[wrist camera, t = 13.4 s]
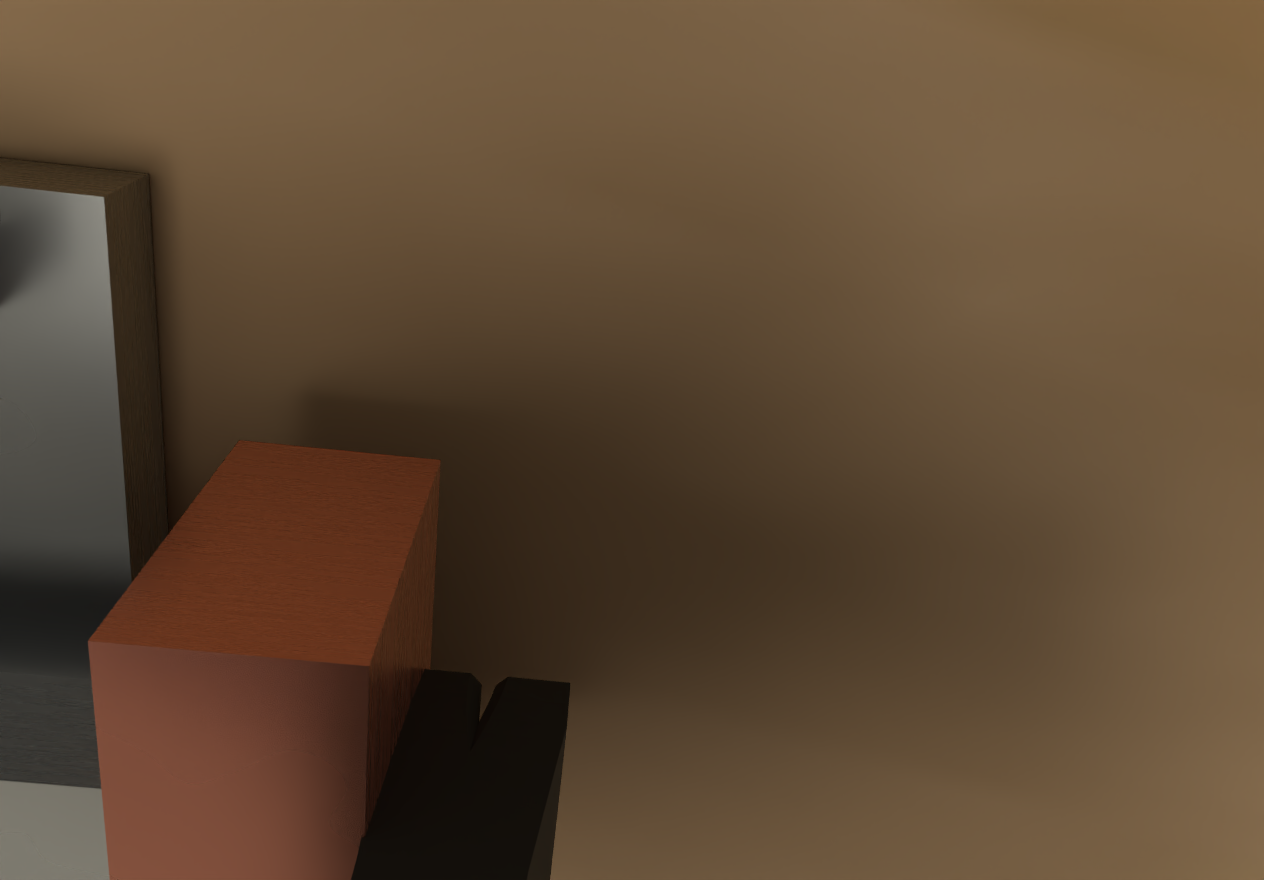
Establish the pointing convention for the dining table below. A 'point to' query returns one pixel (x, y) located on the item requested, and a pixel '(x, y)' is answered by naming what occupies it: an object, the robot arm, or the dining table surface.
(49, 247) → the press bed
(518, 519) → the dining table surface
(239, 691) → the ram
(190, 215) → the dining table surface
